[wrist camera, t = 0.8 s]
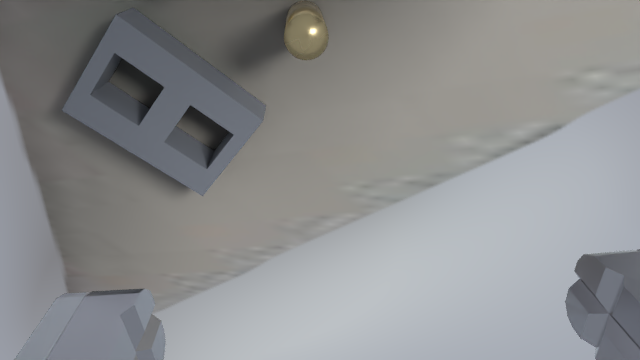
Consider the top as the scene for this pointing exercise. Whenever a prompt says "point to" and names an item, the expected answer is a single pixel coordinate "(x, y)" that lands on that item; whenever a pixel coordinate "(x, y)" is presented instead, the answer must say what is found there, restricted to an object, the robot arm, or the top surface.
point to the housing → (163, 102)
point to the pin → (305, 31)
